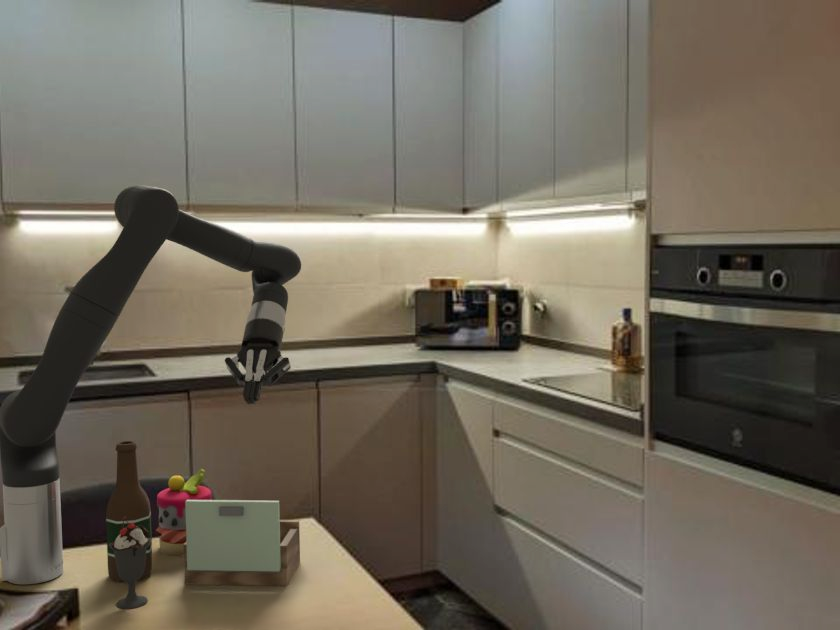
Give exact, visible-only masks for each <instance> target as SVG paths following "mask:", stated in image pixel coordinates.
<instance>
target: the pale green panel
mask: <svg viewBox="0 0 840 630" xmlns="http://www.w3.org/2000/svg"><path fill="white" fill-rule="evenodd" d="M185 506H186V541H187V570H188V571H201V572H267V573H280V571H281V556H280V520H281V516H280V512H281V511H280V509H281V508H280V500H264V499H263V500H259V499H258V500H255V499H254V500H251V499H250V500H249V499H247V500H246V499H243V500H242V499H212V500H186V501H185Z"/></svg>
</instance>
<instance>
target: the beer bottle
mask: <svg viewBox="0 0 840 630" xmlns="http://www.w3.org/2000/svg"><path fill="white" fill-rule="evenodd" d="M137 449H138V445H137V442H136V441H133V440H124V441H120V442H118V443H117V444H116V446H115V451H116V452H117V453H116V483H115V489H114V491H113V492H112V494H111V495H110V498H109V499H108V502H107V506H106V513H105V515H106V516H105V525H106V548H107V549H106V553H107V571H108V572H107V573H108V578H109V580H110V581H114V582H116V583H119V584H121V583H123V584H124V583H126V582H125V581H123V580H122V579H121V578H120V577H119V575H118V571H117V567H116V561H115V556H114V551H113V550H112V549H111V548H110V547H109V544H110V543H112V542H114V541H115V540H116V538H117V537H118V536H119V535H120V531H121V530H122V527H123V520H122V518H124V517H126V520H124V528H125V527H127V526H128V525H129V524H128V523H127V522H129V523H133V524H134V525H135V526H138V527H139V525H142V526H143V527H144V528H145V529H146V530H147V531H148V535H147V537H146V538H150V539H151V543H150V545H149V546H148V547H147V551H146V560H145V568H144V573H143V575H142V576H141V577H140V579H138V580H137V581H136V582H138V581H141V580H144V579H147V578H149V577H150V575H151V573H152V571H153V544H152V543H153V541H152V540H153V539H152V538H153V537H152V535H153V534H152V511H151V502H150V499H149V496H148V494H147V492H146V491H145V490H144V488H143V487H142V486H141V483H140V479H139V471H138V460H137V451H136V450H137ZM126 521H127V522H126Z"/></svg>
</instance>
